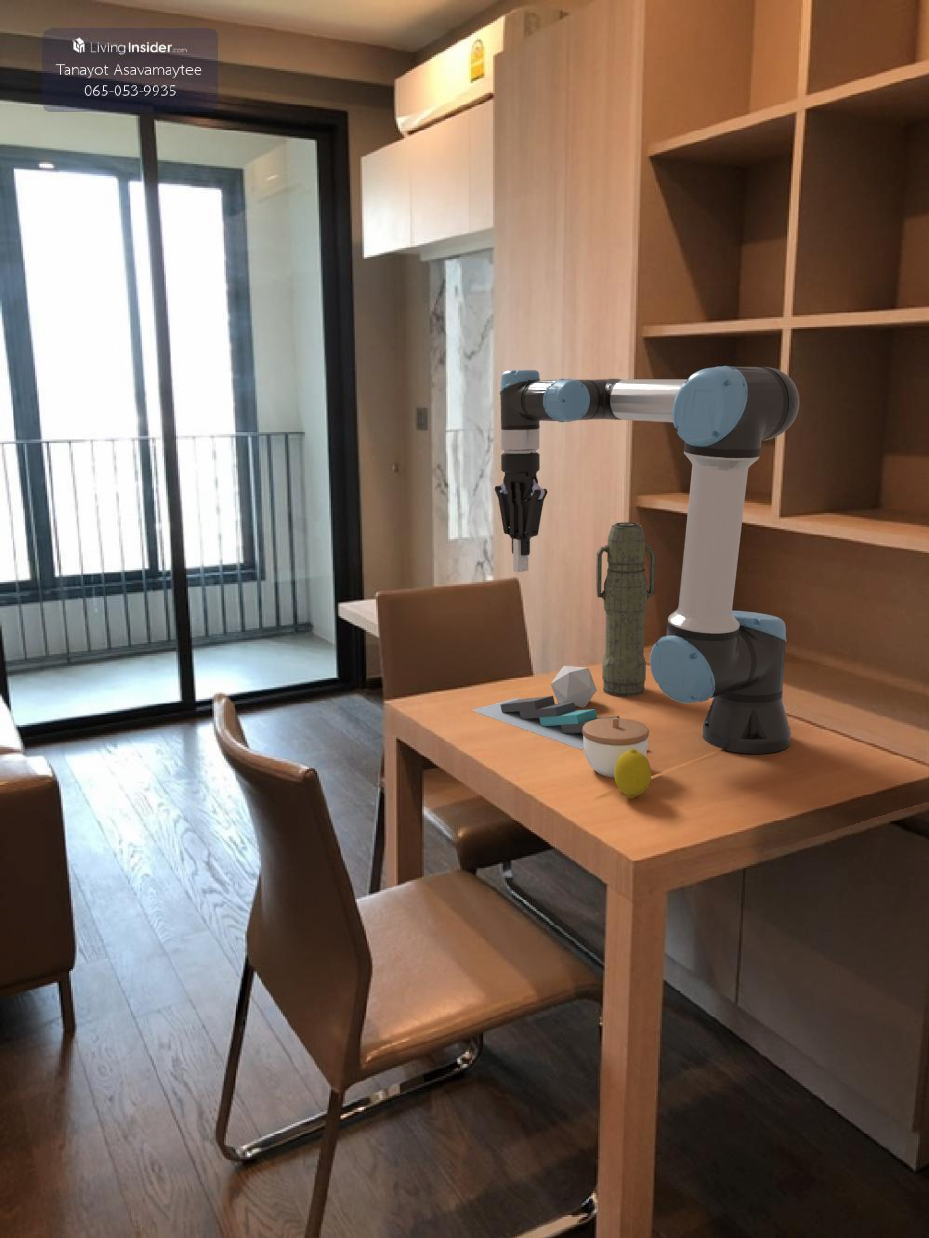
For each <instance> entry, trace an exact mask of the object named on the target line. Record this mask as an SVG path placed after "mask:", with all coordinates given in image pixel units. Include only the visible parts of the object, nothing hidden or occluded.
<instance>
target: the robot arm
mask: <svg viewBox="0 0 929 1238" xmlns="http://www.w3.org/2000/svg"><path fill="white" fill-rule="evenodd" d="M499 395H500V397H499V398H500V450H502V451H503V452H502V453H501V454H500V460H501V461H500V470H501V471H502V473H504V476H503V479H502V483H501V484H500V485H495V487H494V491H495V494H496V496H497V500H498V507H499V511H500V517H501V525H502V529H503V534H505V535H508V536H509V537H510V538H511V553H512V555H513V556H512V557H513V559H512V562H513V566H512V567H513V569H512V570H513V572H514V573H521V572H528V571H529V556H530V554H531V539H532V538H534V537H538V535H539V530H540V525H541V519H542V514H543V513H542V512H543V507H544V501H545V499H546V496H547V495H548V489H547V488H542V487H541V486H540V485H539V479H538V476H537V473H538V472H539V471H540V469H541V466H540V456H541V455H540V453H539V452H537V450H539V449H540V429H541V428H540V427H541V425H540V422H542V421H543V422H558V423H565V422H566V423H567V422H568V423H570V422H576V421H589V420H610V421H611V420H613V421H637V422H638V421H640V422H658V423H659V422H660V423H661V422H662V423H673V427H674V428H675V429H676V430H677V432H676V434H677V435H678V436H679V438H680V439H681V440H683V441H684V447H683V448H684V450H683V454H684V455H685V456H686V458H688V460H689V461H690V463H691V465H692V466H691V477H690V487H689V497H688V507H687V518H686V528H685V538H684V547H683V548H684V549H683V558H682V567H681V569H682V570H681V577H680V578H681V579H680V588H679V589H680V590H679V599H678V607H677V609H675V611H673V612H672V613H671V614H669V616H667V617H668V618H667V624H666V635H665V636H662V637H660V638H659V639H658V641H657V642H655V643H654V644H653V646H652V648H651V651H650V655H649V665H650V671H651V675H652V677H653V680H654V681H655V683H657V685H658V686H659V689H660V690H661V692H662V693H663V694H665V696H667V697H668V698H669V699H671V700H672V701H675V702H678V703H681V704H694V703H703V702H706V701H708V700H710V699H712V698H713V699H712V701H711V703H710V705H709V708H708V711H707V714H706V717H705V720H704V721H703V724H702V738H703V740H704V741H706V742H707V743H708V744H710V745H711V746H714V747H717V748H719V749H721V750H724V751H727V752H732V753H739V754H749V755H751V754H753V755H754V754H755V755H756V754H761V755H762V754H771V753H777V752H781V751H784V750H785V749H788V748H789V746H790V745H791V735H792V731H791V726H790V725H789V720H788V717H787V712H786V710H785V706H784V702H783V693H784V692H783V691H784V690H783V689H784V677H785V675H784V674H785V661H786V660H785V659H786V656H785V655H786V645H787V644H786V643H787V642H788V641H787V640H788V639H787V637H786V636H787V633H786V632H787V630H786V629H787V627H786V623H785V621H784V620H783V619H782V618H780V617H778V616H775V615H771V614H765V613H760V612H752V611H744V610H743V611H742V610H733V603H734V597H735V595H734V594H735V586H736V577H737V570H738V560H739V552H740V551H739V550H740V542H741V533H742V525H743V516H744V508H745V498H746V491H747V490H746V489H747V483H748V482H747V481H748V473H749V468H750V467H751V466H752V465H753V464H755V462H756V461H758V460H759V459H760V456H761V450H762V449H761V447H762V441H763V442H764V441H768V440H771V439H775V438H778V437H779V436H780V435H782V434H783V433H785V432H786V431H787V430H788V429H789V428H790V427H791V426H792V424H793V423H795V420H796V418H797V417H798V412H799V409H800V394H799V391H798V388H797V386H796V384H795V382H794V381H793V379H792V378H791V376H789V375H787V374H786V373H785V372H784V371H782V370H779V369H777V368H773V367H770V366H769V367H767V366H728V365H724V366H715V367H707V368H703V369H700V370H698V371H696V372H694V373H693V374H691V375H690V376H689V377H688V378H687V379H679V378H678V379H670V378H669V379H659V378H658V379H651V378H650V379H647V378H646V379H644V378H643V379H640V378H639V379H637V378H636V379H635V378H634V379H631V378H629V379H620V378H604V379H603V378H602V379H601V378H600V379H572V378H559V379H547V380H541V379H540V372H539V371H538V370H536V369H517V370H504V372H502V373H501V376H500V391H499Z"/></svg>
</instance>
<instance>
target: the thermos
mask: <svg viewBox="0 0 929 1238" xmlns="http://www.w3.org/2000/svg"><path fill="white" fill-rule="evenodd" d="M604 552H606V553H607V555H606V556H607V558H606V559H607V565H608V566H607V568H606V577H605V579H604V581H603V590H602V571H603V570H602V569H603V568H602V567H603V566H602V565H603V563H602V562H603V553H604ZM647 552H648V553H649V571H648V572H649V573H648V574H649V575H648V577H649V579H648V580H647V577H646V569H645V562H646V553H647ZM656 554H657V553H656V552H655V551H654V550H653V548H652V546H647V545H646V538H645V533H644V530H643V526H642V525H641V524H639V523H637V522H628V521H627V522H616V523H614V524H613V525H611V528H610V530H609V532H608V536H607V544H606V545H605V546H600V548H599V549H598V550H597V552H596V561H595V563H596V566H595V567H596V568H595V569H596V571H595V572H596V573H595V575H596V576H595V579H596V581H595V583H596V584H595V585H596V587H595V590H596V597H597V598H599V599H600V598H602V600H603V609H604V612H605V652H604V655H603V658H602V676H601V677H602V681H603V682H602V683H603V687H602V691H603V692H604V693H605V694H607V695H610V696H615V697H626V698H627V697H637V696H641V695H643V694H644V693H645V692H646V690H645V682H646V680H647V676H646V675H647V661H646V659H645V655H644V653H645V652H644V649H645V647H644V644H645V613H646V611H647V608H648V600H649V598H650V599H651V597H652V596H654V595H655V594H656V564H657V563H656V559H657V557H656V556H657V555H656Z"/></svg>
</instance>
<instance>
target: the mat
mask: <svg viewBox="0 0 929 1238" xmlns="http://www.w3.org/2000/svg"><path fill="white" fill-rule="evenodd" d="M519 699H520V698H517V697H515V698H514V697H513V698H511V699H508V700H504V701H500V702H497V703H492V704H489V705H485V706H482V707H478V708H474V709H471V710H470V711H471V712H475V713H477V714H480V715H483V716H486V717H488V718H491V719H493V720H497V721H500V722H502V723H505V724H507V725H508V724H509V725H511V726H514V727H517V728H519V729H522V730H525V731H528V732H531V733H533V734H536V735H539V736H541V737H545V738H547V739H550V740H553V741H555V742H558V743H561V744H565V745H567V746H570V747H573V748H575V749H578V750H584V745H583V732H579V733H563V732H562V728H561V725H550V726H541V723H540V718H530V719H521V716H520V711H514V712H503V713H502V710H501V706H500V704H504V703H508V702H511V701H515V700H519Z"/></svg>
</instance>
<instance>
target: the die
mask: <svg viewBox="0 0 929 1238" xmlns="http://www.w3.org/2000/svg"><path fill="white" fill-rule="evenodd" d="M550 686H551V689H552V692H553V694H554V696H555V699H556V702H557V704H560V703H570V702H574V705H575V708H586V707H587V705H588V704H589V702H590V701H591V699H592V698H593V697H594V695H595V694H596V692H597V691H598V690H597V687H596V683H595V681H594V678H593V677H592V674H591V672H590V668H589V667H584V666H583V667H582V666H572V665H563V666H562V667H561V669H560V670H559V671H558V673H557V675H556V676H555V677H554V679H553V680H552V681H551V682H550Z"/></svg>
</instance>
